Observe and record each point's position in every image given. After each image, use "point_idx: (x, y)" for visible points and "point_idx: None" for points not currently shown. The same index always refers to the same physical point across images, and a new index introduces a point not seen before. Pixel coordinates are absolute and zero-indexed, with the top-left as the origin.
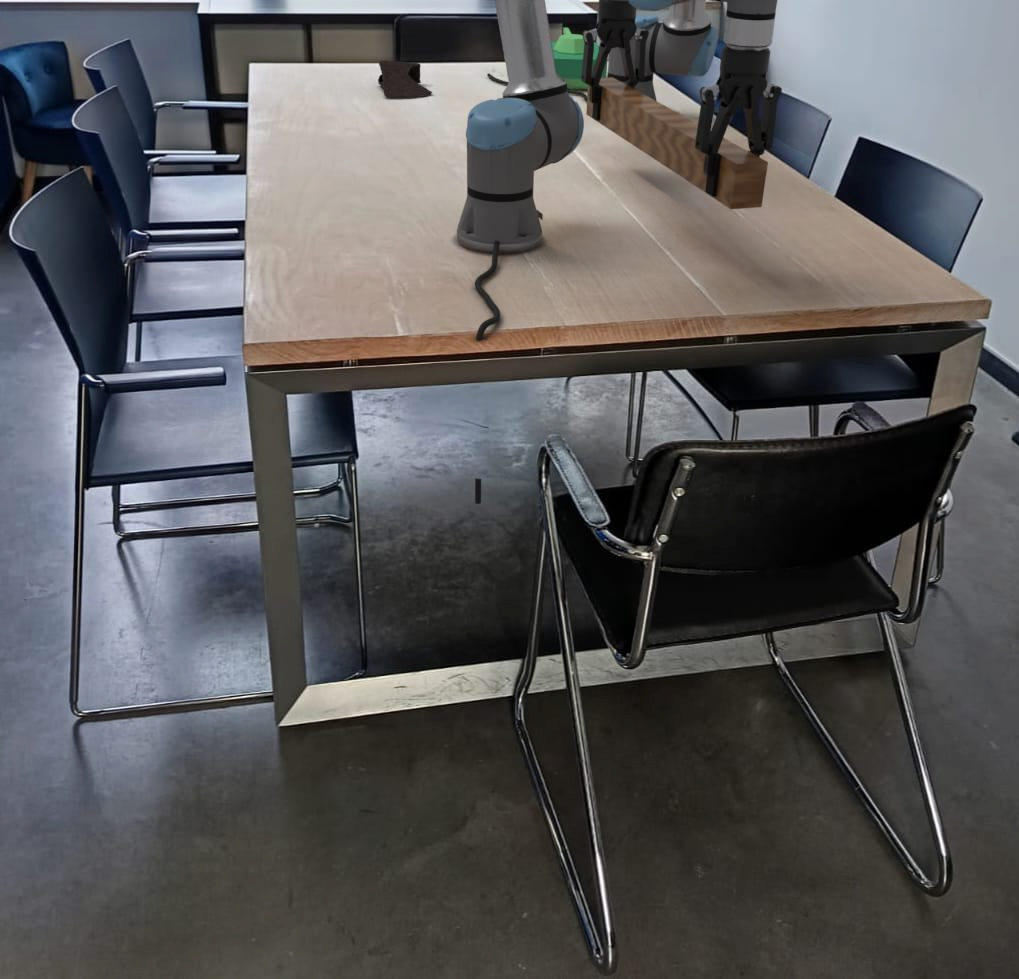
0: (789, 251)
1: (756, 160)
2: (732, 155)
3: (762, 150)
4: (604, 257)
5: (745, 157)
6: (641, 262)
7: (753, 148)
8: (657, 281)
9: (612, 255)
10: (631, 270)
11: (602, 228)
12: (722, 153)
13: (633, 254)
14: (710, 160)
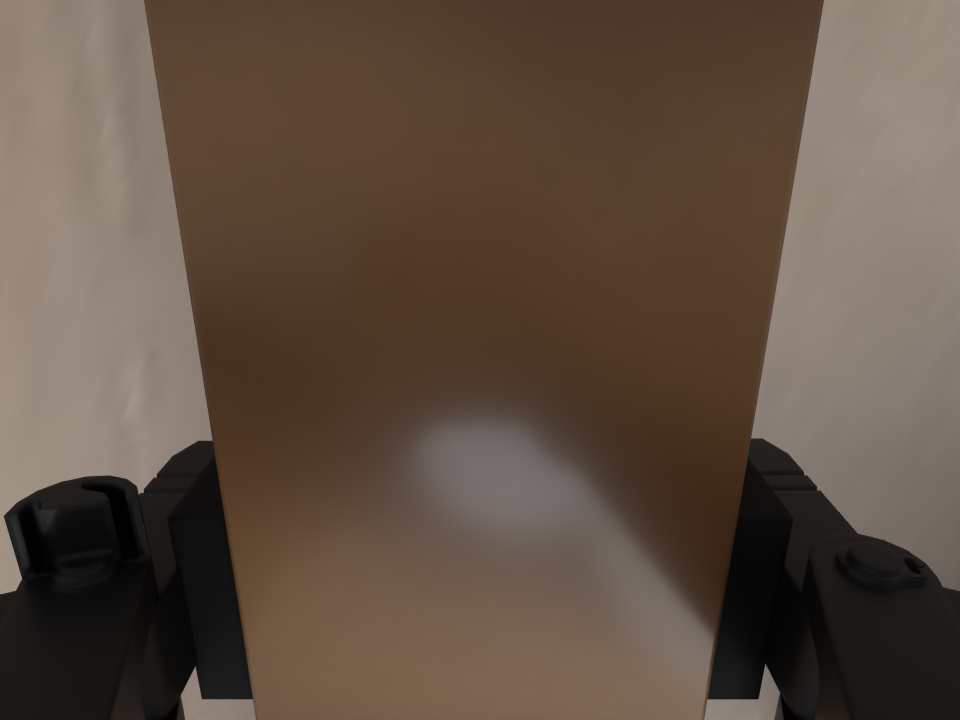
0: (99, 293)
1: (326, 112)
2: (587, 480)
3: (35, 543)
4: (951, 411)
5: (438, 336)
6: (837, 320)
7: (154, 638)
8: (918, 61)
9: (904, 425)
10: (941, 235)
11: (762, 690)
12: (670, 599)
13: (813, 416)
14: (827, 528)
